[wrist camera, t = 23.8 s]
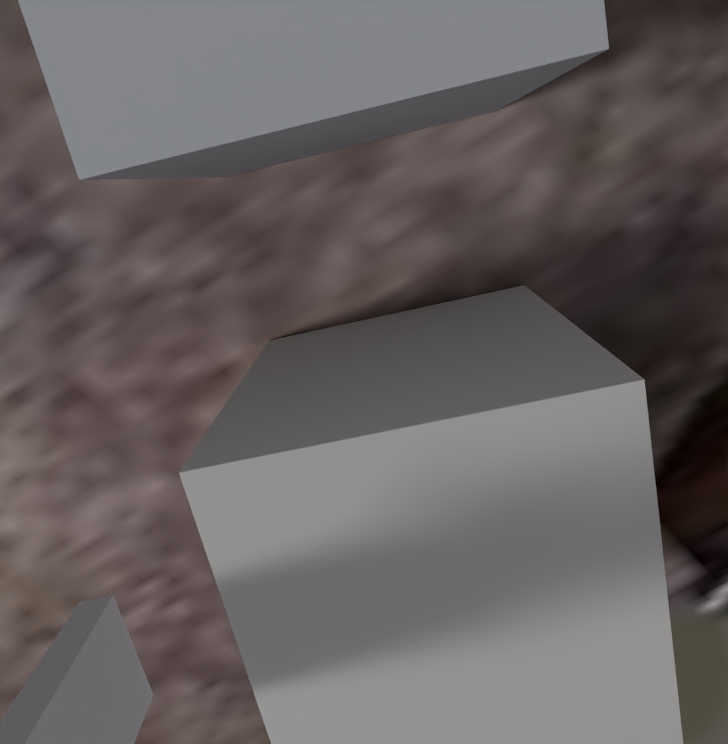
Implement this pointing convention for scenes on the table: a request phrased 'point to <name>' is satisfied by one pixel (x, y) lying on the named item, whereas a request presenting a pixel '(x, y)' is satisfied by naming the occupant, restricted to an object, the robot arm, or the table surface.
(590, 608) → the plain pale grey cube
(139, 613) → the table surface
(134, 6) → the grey arch block
